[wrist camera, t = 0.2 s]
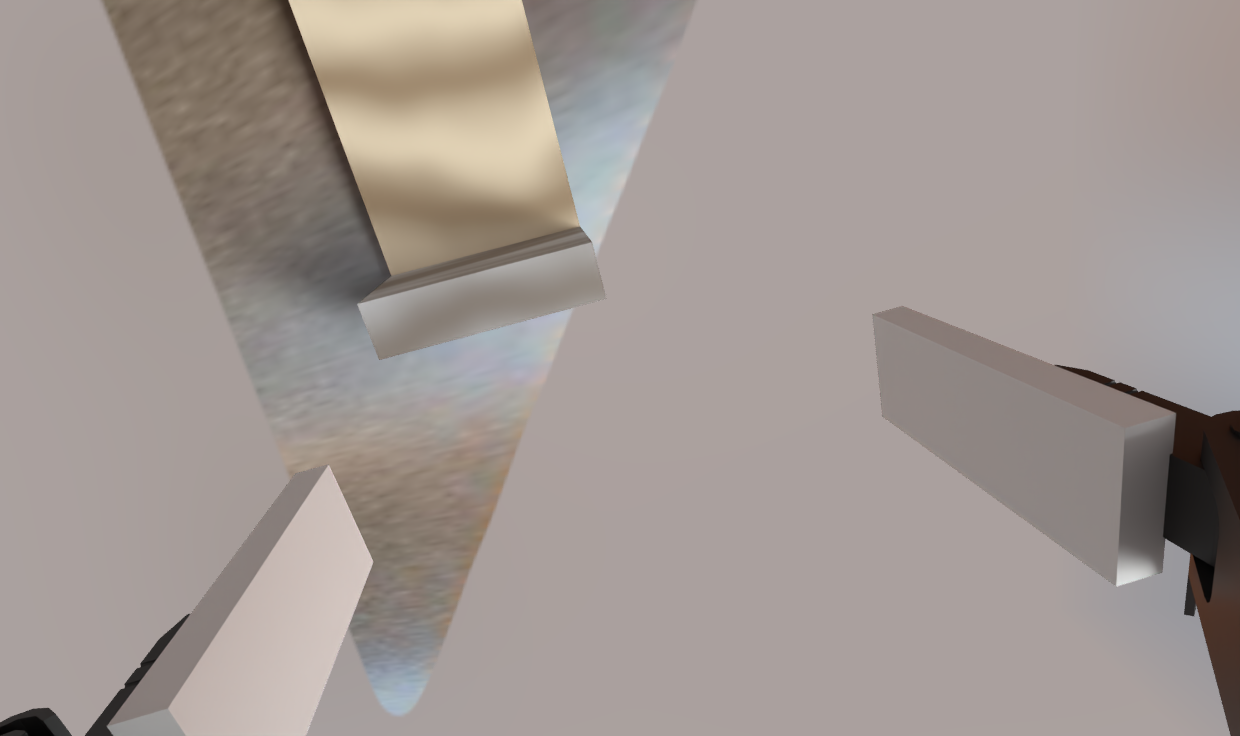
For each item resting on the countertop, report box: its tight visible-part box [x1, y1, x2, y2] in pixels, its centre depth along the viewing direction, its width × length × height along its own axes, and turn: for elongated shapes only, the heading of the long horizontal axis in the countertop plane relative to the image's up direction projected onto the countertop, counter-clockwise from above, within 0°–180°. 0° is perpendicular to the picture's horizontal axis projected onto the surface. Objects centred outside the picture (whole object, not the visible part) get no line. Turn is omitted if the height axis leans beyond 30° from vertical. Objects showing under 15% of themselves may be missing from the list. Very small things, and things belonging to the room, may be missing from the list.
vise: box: [289, 0, 606, 360], centre depth 32 cm, size 28×12×10 cm, turn 13°
